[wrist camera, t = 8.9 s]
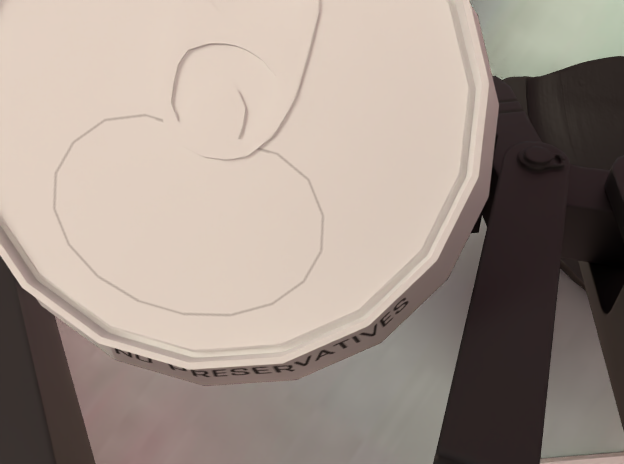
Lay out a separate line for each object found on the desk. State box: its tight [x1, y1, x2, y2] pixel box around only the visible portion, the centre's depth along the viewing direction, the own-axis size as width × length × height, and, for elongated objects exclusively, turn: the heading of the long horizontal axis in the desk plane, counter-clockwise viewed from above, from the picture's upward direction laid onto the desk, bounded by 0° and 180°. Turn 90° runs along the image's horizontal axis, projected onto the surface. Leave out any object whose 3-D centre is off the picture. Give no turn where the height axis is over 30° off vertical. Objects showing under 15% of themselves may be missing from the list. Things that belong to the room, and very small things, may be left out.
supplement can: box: [0, 0, 499, 386], centre depth 15 cm, size 8×8×15 cm
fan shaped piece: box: [502, 56, 624, 290], centre depth 31 cm, size 8×14×2 cm, turn 13°
